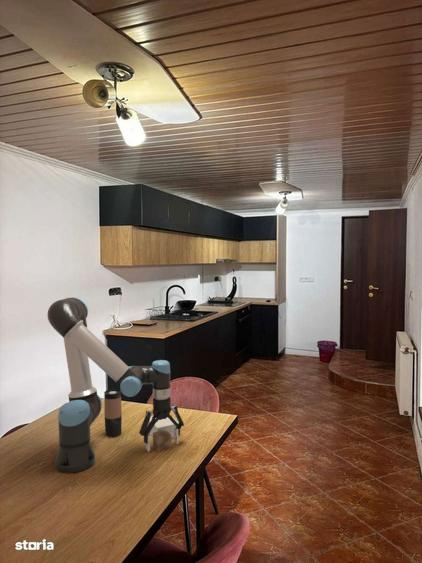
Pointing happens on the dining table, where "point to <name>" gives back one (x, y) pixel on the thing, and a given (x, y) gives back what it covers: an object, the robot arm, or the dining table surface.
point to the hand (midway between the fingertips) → (162, 446)
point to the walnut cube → (162, 440)
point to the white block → (163, 426)
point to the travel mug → (112, 412)
